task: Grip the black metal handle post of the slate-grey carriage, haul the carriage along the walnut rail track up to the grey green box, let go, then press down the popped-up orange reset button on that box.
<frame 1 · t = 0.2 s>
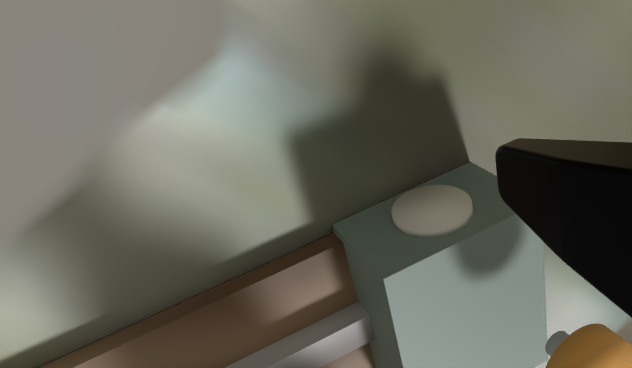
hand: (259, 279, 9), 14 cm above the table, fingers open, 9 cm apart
grey green box: (417, 269, 30), on the table
reset button: (578, 360, 23), point 9 cm above the table, slide at 2.5 cm
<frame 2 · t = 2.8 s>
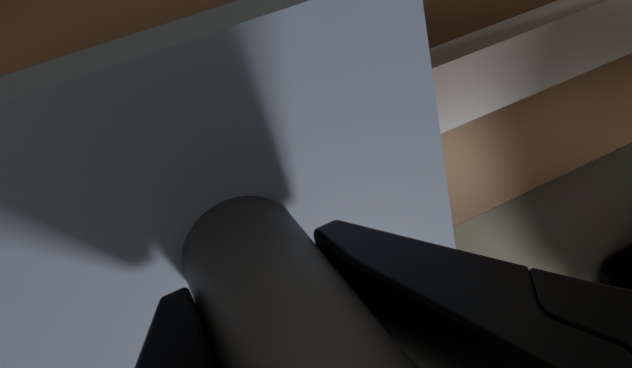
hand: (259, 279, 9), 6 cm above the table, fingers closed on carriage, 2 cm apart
rail track: (468, 49, 15), on the table
carriage: (257, 277, 9), point 5 cm above the table, slide at 0.0 cm, touching gripper
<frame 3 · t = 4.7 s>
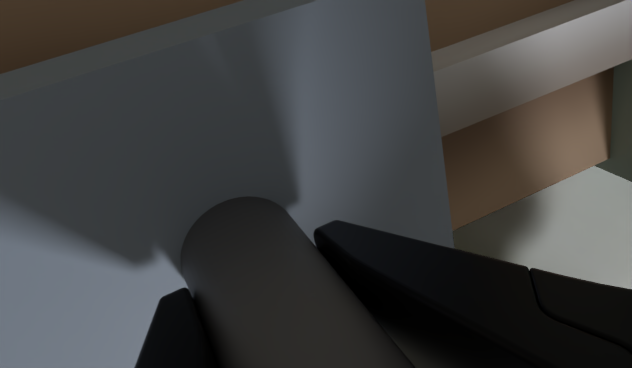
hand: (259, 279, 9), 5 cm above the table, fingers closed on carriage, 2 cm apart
rail track: (149, 172, 13), on the table
carriage: (257, 278, 9), point 5 cm above the table, slide at 8.9 cm, touching gripper
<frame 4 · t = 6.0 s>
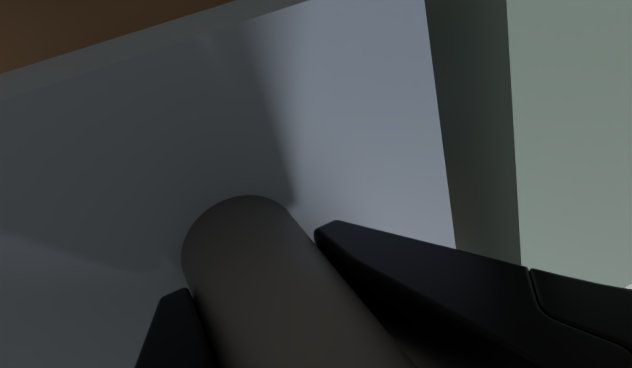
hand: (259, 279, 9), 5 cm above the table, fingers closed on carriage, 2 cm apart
carriage: (257, 277, 9), point 5 cm above the table, slide at 15.8 cm, touching gripper
grey green box: (507, 36, 15), on the table
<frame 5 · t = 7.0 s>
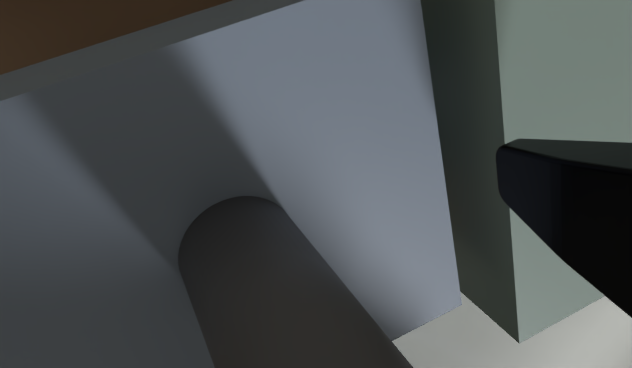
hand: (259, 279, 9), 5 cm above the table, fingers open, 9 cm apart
carriage: (254, 278, 9), point 5 cm above the table, slide at 15.9 cm
grey green box: (500, 36, 15), on the table
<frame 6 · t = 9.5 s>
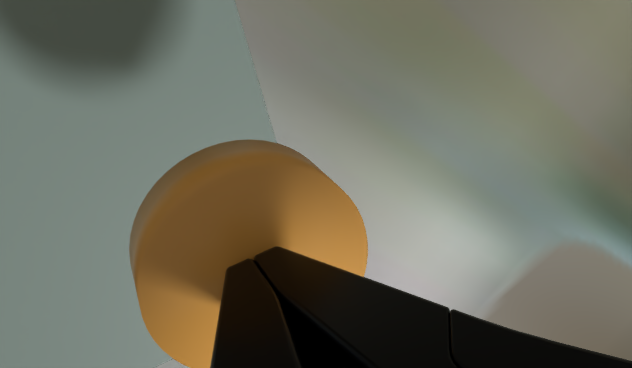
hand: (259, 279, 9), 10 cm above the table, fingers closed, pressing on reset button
grey green box: (94, 128, 17), on the table
reset button: (240, 240, 9), point 9 cm above the table, slide at 2.4 cm, touching gripper
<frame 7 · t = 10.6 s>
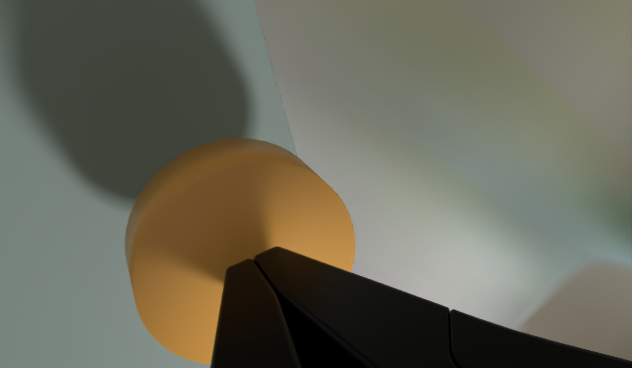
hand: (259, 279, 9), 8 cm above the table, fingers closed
grey green box: (96, 152, 15), on the table
reset button: (232, 236, 10), point 7 cm above the table, slide at 0.3 cm
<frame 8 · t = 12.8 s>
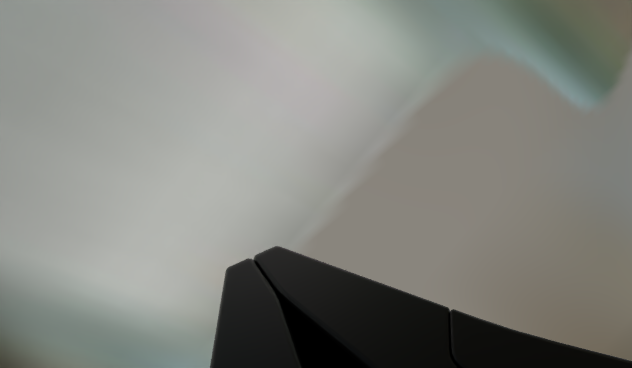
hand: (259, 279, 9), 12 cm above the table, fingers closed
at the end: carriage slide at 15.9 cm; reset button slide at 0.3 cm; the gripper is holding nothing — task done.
